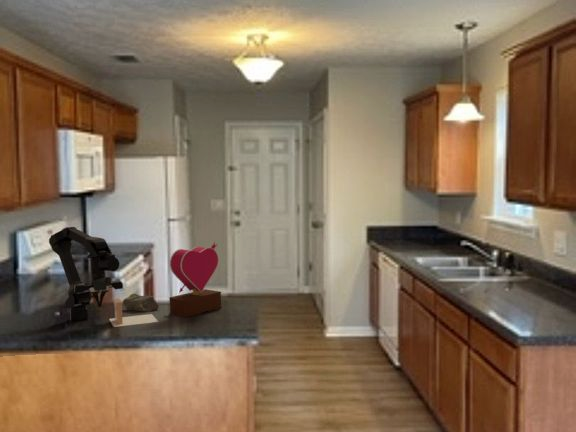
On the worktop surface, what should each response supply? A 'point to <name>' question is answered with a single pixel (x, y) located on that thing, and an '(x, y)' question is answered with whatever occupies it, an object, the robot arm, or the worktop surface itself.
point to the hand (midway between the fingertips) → (99, 307)
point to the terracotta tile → (118, 311)
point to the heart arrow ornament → (194, 281)
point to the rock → (140, 303)
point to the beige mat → (134, 320)
